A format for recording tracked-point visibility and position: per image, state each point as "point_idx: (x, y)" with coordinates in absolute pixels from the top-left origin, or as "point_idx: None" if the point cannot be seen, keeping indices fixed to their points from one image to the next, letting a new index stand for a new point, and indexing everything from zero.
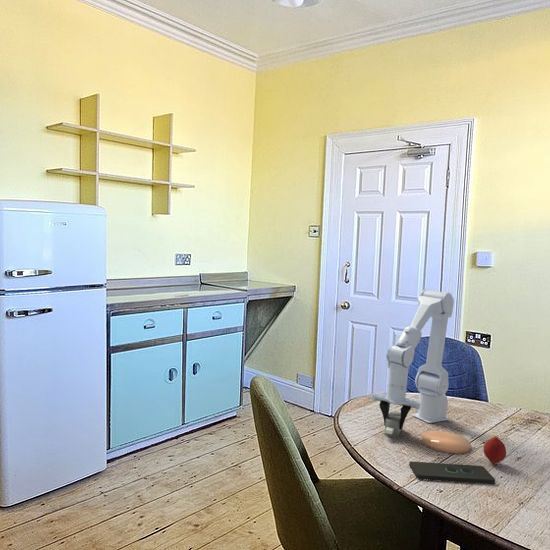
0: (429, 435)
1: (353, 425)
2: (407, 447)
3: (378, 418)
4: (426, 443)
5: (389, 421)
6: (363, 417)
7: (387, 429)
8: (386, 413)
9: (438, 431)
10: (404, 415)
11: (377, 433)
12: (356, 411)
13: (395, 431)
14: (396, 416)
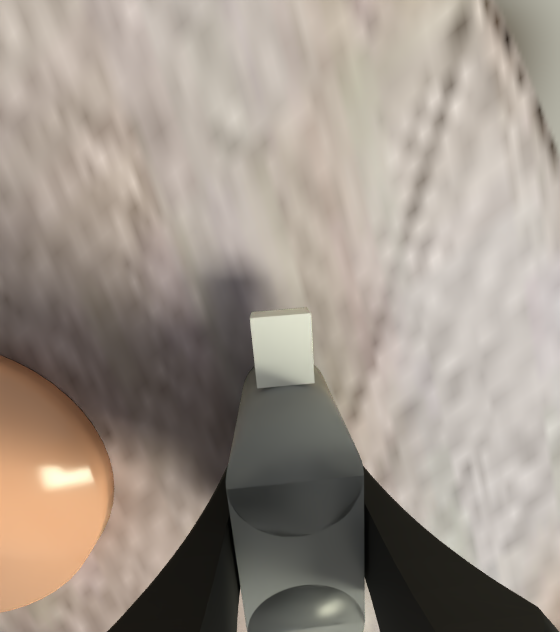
0: (51, 500)
1: (529, 390)
2: (124, 259)
3: None
4: (29, 382)
5: (308, 418)
6: (493, 536)
7: (295, 325)
8: (385, 542)
9: (37, 590)
10: (163, 590)
11: (366, 363)
12: (543, 586)
13: (248, 390)
14: (284, 571)
